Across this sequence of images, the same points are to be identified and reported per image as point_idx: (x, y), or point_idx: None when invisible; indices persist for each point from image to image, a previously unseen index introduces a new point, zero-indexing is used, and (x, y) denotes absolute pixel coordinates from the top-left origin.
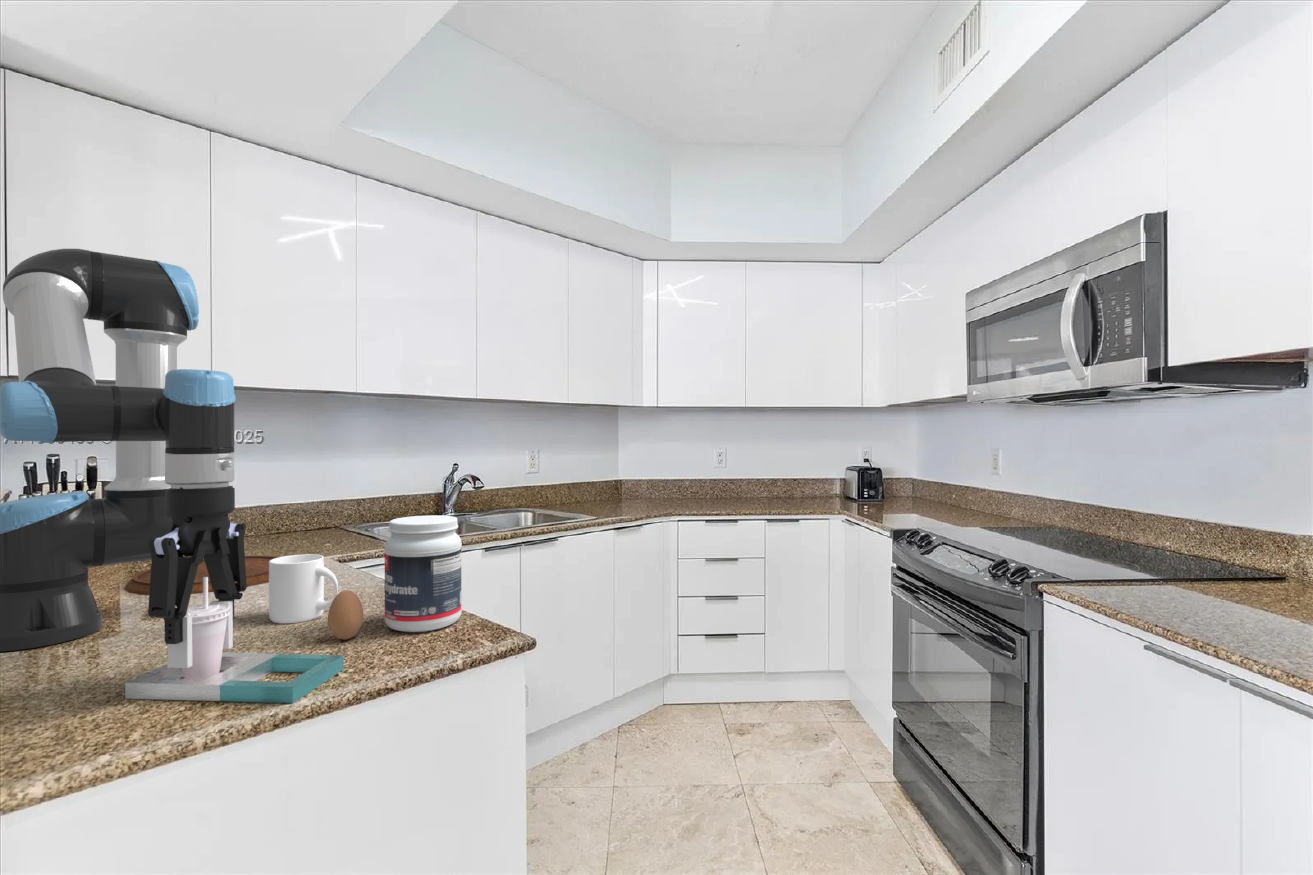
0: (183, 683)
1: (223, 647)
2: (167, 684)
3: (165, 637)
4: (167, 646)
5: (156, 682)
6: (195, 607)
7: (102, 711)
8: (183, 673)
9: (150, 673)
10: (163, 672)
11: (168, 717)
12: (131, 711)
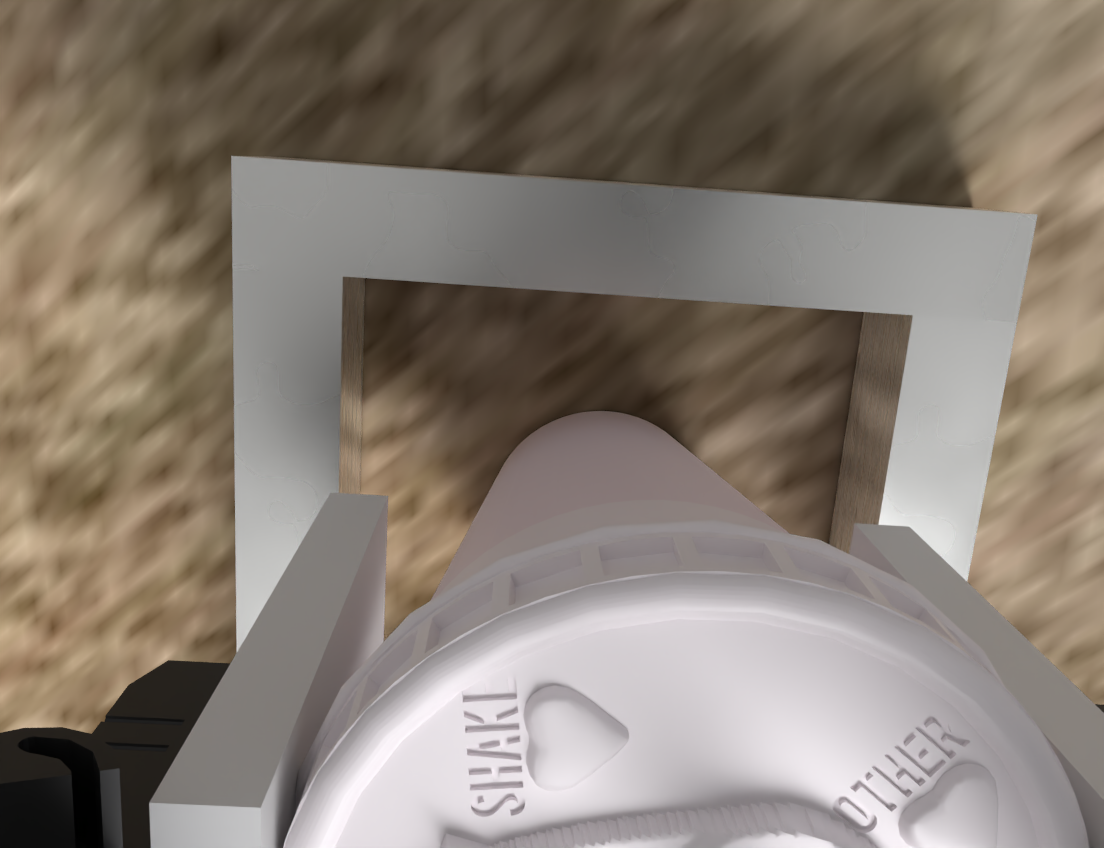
0: None
1: None
2: (237, 547)
3: (114, 717)
4: (281, 576)
5: (254, 437)
6: (942, 701)
7: (40, 172)
8: (493, 485)
9: (454, 214)
10: (520, 285)
11: (14, 711)
12: (66, 395)
